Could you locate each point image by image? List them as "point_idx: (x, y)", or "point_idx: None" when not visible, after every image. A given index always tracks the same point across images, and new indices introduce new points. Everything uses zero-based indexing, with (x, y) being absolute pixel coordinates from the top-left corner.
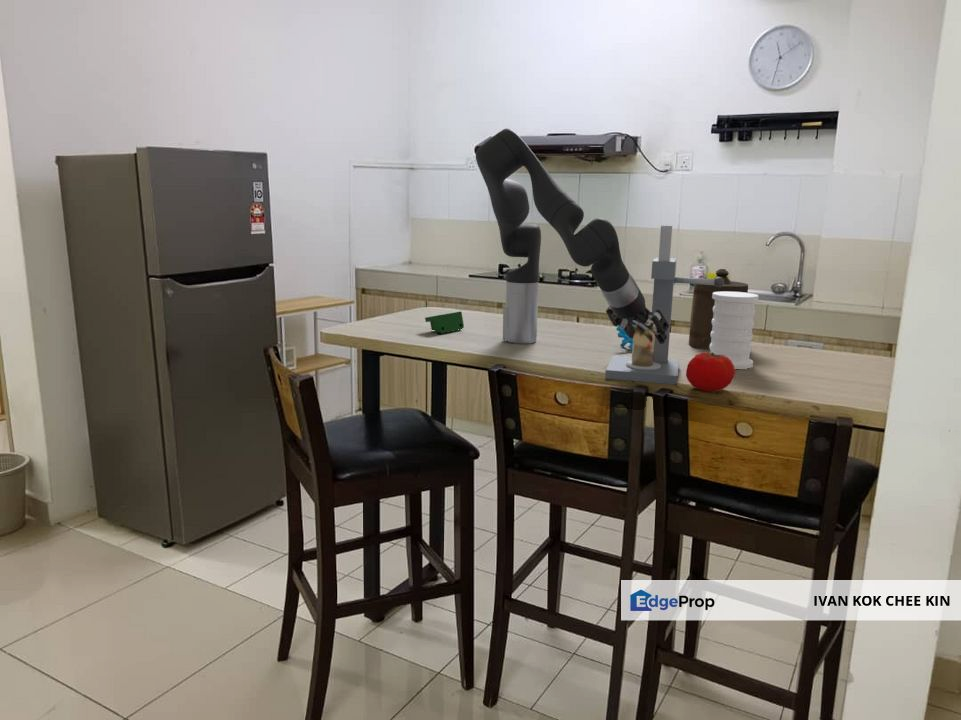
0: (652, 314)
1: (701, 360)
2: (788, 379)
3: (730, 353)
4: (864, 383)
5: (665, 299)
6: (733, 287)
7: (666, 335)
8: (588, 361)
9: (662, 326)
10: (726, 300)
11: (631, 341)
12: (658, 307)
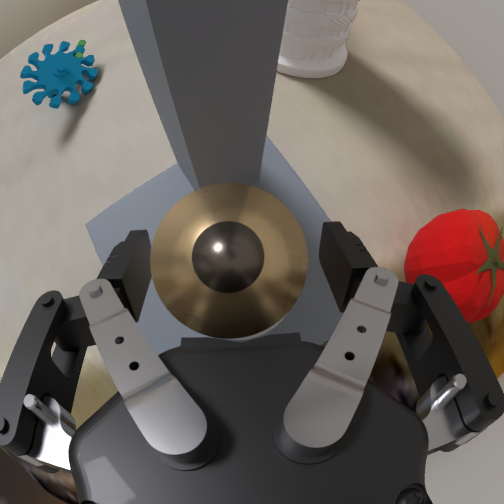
0: (453, 443)
1: (483, 305)
2: (424, 88)
3: (333, 47)
4: (457, 64)
5: None
6: None
7: (361, 242)
8: (48, 273)
9: (415, 315)
10: None
11: (67, 87)
12: (207, 49)
